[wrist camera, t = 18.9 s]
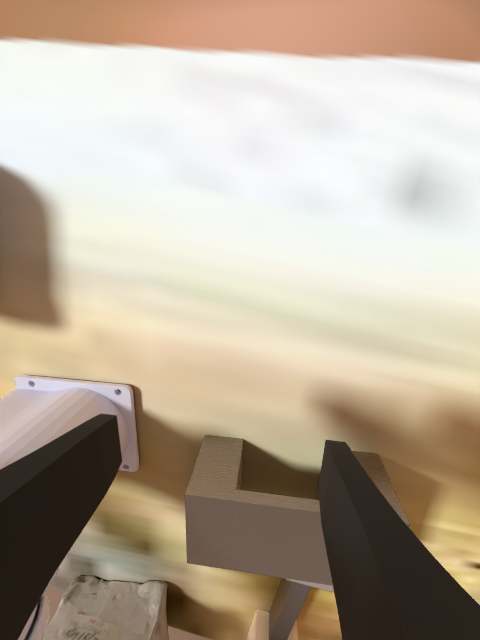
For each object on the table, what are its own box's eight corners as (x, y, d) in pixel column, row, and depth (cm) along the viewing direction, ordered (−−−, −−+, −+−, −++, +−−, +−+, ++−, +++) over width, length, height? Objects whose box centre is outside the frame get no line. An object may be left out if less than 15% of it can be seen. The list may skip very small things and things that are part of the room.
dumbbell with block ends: (248, 632, 29) (245, 675, 26) (288, 522, 24) (289, 561, 21) (286, 643, 29) (287, 688, 26) (334, 534, 24) (342, 575, 21)
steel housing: (205, 493, 24) (187, 563, 19) (205, 435, 22) (185, 494, 17) (364, 514, 23) (389, 594, 18) (377, 454, 21) (410, 524, 16)
